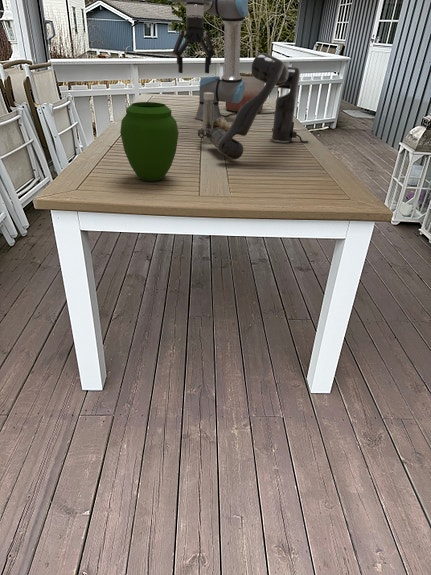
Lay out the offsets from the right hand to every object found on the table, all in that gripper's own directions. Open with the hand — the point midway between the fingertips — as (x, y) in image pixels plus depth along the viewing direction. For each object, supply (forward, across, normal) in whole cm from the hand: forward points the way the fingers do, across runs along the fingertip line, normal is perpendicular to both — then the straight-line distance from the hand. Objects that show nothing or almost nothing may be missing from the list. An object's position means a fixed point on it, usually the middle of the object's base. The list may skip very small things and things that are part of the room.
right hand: (210, 130), depth 191 cm
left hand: (+11, +6, -23) cm, 26 cm away
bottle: (+4, 0, +6) cm, 8 cm away
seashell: (+24, -12, +7) cm, 27 cm away
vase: (-48, +34, +6) cm, 60 cm away
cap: (+4, 0, -15) cm, 16 cm away
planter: (+94, -48, +7) cm, 106 cm away
